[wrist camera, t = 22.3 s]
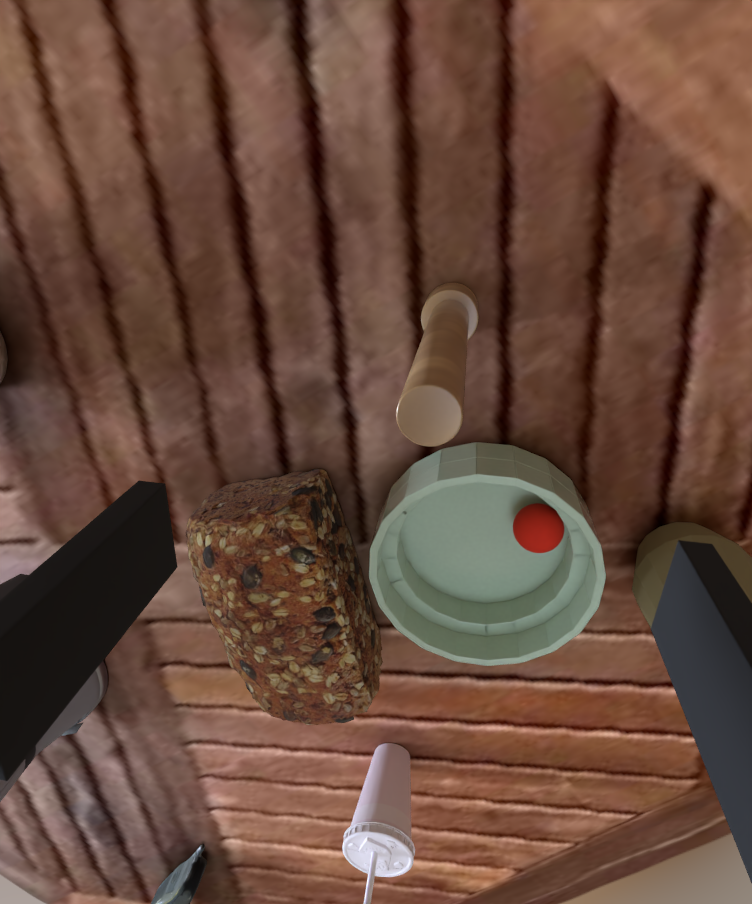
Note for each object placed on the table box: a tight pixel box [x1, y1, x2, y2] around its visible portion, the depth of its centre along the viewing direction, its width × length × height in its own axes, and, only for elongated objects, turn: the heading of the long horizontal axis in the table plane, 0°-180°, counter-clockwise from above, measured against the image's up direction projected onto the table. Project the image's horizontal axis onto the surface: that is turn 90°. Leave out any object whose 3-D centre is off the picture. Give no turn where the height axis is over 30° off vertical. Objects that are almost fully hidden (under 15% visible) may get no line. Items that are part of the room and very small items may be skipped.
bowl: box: [369, 442, 606, 666], centre depth 42 cm, size 16×16×6 cm
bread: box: [186, 469, 383, 725], centre depth 45 cm, size 19×11×10 cm, turn 14°
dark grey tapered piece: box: [151, 844, 207, 904], centre depth 71 cm, size 5×3×15 cm
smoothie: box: [342, 743, 415, 904], centre depth 51 cm, size 6×6×14 cm
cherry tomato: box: [513, 503, 564, 553], centre depth 41 cm, size 4×4×4 cm
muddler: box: [396, 283, 479, 447], centre depth 29 cm, size 4×4×20 cm
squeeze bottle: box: [632, 522, 752, 627], centre depth 35 cm, size 8×8×18 cm
